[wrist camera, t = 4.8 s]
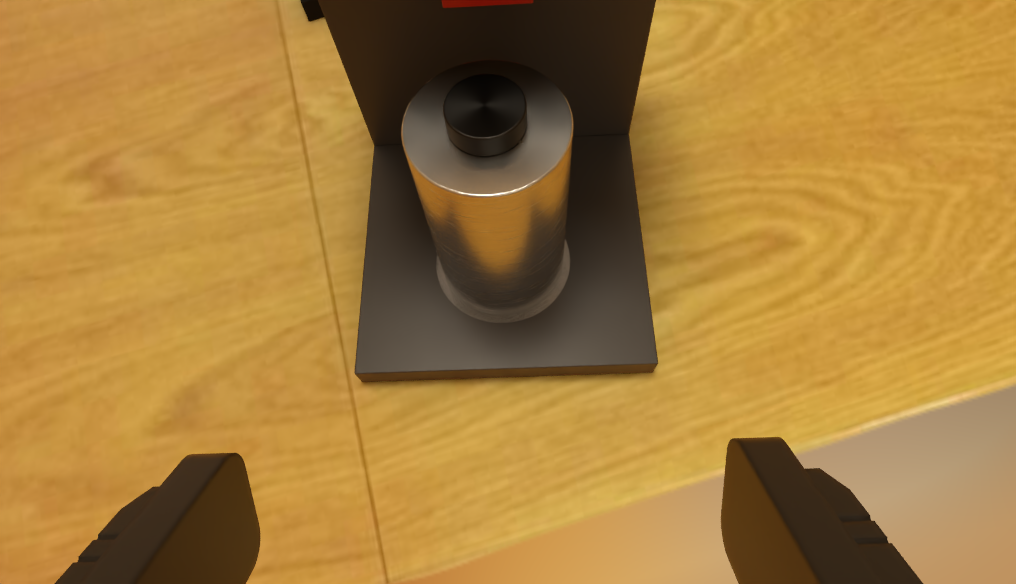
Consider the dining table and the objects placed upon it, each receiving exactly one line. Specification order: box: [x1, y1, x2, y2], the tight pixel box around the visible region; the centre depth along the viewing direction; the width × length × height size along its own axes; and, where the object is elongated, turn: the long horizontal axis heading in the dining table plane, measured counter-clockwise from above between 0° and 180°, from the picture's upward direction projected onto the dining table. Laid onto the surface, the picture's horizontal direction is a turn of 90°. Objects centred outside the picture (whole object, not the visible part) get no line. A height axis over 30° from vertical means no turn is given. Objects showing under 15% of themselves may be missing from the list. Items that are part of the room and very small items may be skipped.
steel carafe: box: [401, 60, 573, 316], centre depth 27 cm, size 6×6×12 cm
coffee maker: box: [318, 0, 658, 382], centre depth 26 cm, size 19×15×20 cm
